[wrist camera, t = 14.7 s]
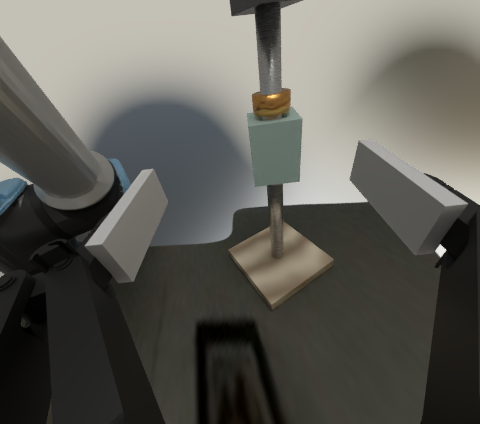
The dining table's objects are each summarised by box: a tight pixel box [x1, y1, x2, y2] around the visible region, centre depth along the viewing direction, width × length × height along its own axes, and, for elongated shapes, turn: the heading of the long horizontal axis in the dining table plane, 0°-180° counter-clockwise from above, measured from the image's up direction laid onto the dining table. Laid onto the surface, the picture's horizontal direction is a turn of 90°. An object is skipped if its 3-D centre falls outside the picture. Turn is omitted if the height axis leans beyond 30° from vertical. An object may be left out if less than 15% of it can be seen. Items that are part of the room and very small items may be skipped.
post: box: [230, 0, 302, 259], centre depth 29 cm, size 5×5×40 cm
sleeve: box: [247, 107, 302, 187], centre depth 27 cm, size 6×6×8 cm
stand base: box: [228, 221, 334, 310], centre depth 42 cm, size 15×15×2 cm
